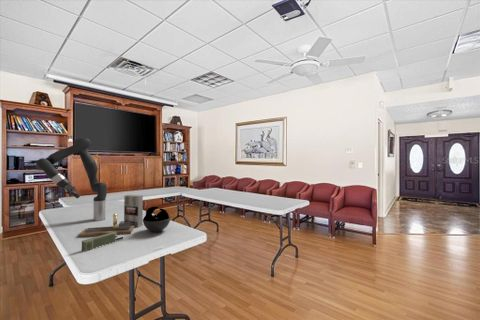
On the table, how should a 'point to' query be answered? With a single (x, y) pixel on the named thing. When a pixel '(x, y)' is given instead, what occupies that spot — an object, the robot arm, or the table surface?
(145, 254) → the table surface
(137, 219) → the cassette tape recorder
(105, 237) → the handheld radio
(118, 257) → the table surface
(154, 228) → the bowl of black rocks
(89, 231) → the wooden track base
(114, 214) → the brass bolt
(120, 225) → the steel keeper
